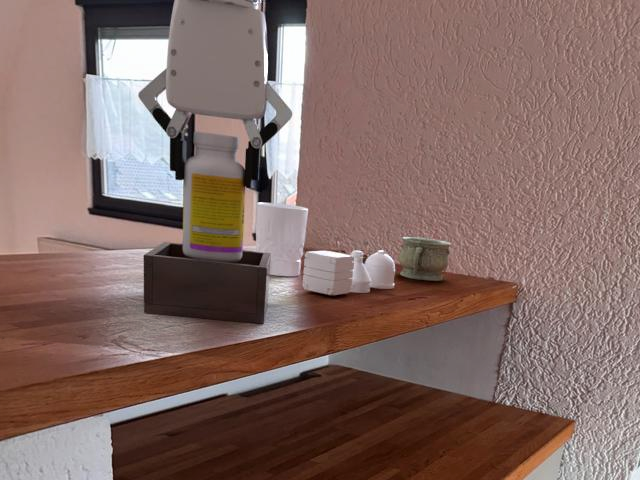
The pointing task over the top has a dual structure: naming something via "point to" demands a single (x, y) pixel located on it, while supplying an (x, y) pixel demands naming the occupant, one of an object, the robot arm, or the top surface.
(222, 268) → the box
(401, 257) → the vessel
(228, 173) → the supplement bottle
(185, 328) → the top surface
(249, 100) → the robot arm
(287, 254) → the white cup
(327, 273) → the container set
